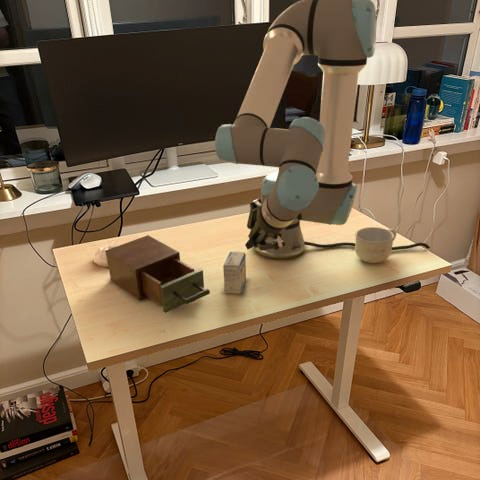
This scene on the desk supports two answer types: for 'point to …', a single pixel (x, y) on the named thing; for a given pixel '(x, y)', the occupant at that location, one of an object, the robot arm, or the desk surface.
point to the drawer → (172, 284)
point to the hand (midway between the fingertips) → (250, 245)
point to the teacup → (374, 244)
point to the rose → (102, 256)
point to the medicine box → (234, 272)
